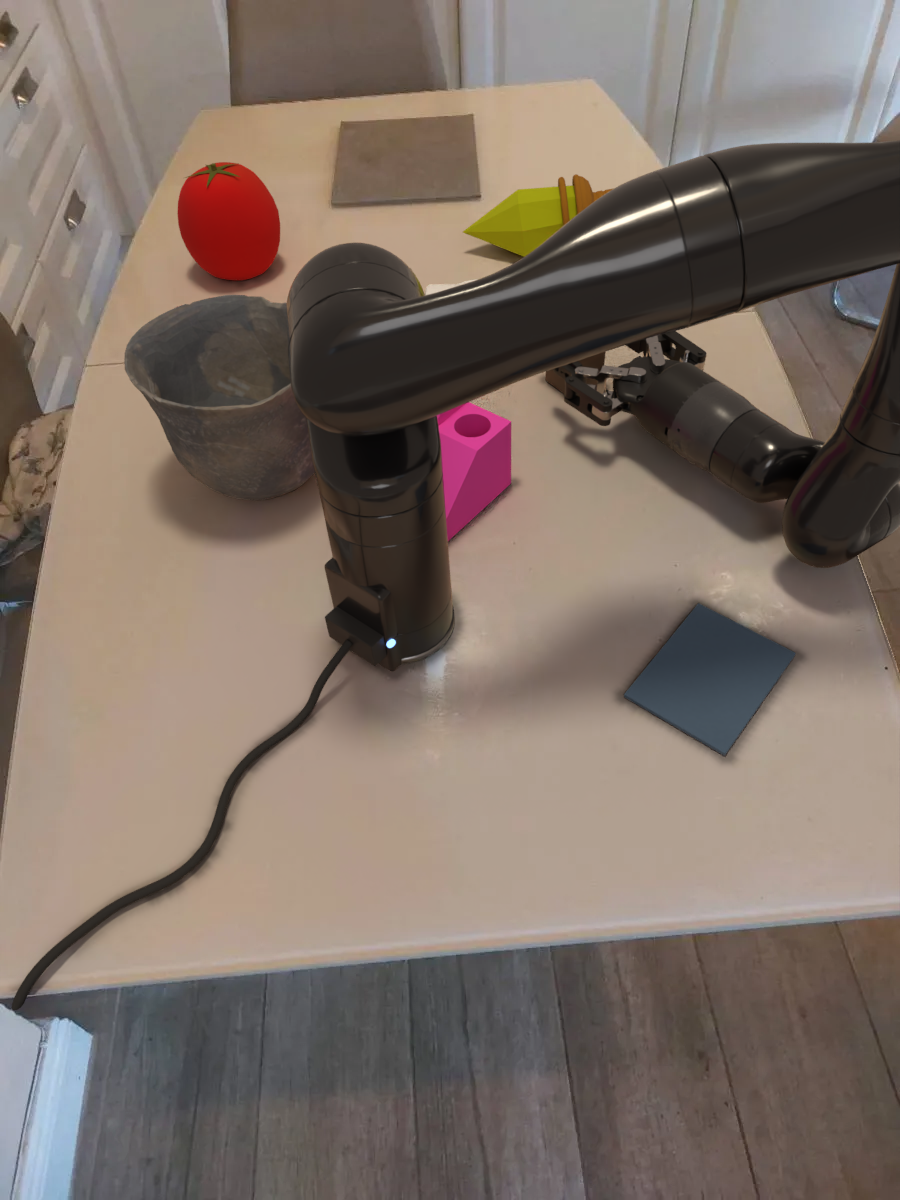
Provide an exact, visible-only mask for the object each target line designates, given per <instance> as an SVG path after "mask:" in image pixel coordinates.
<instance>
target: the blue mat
mask: <svg viewBox="0 0 900 1200" xmlns="http://www.w3.org/2000/svg"><path fill="white" fill-rule="evenodd" d="M796 655H797V653H796V652H795V651H793V650H792V649H789V648H787V647H785V646H783V645H781V644H779V643H777V642H776V641H773V640H772V639H769V638H768V637H766V636H764V635H762V634H760V633H758V632H756V631H754V630H753V629H750V628H749V627H747V626H744V625H742V624H741V623H739V622H736V621H734V620H733V619H730V618H729V617H727V616H726V615H723V614H721V613H719V612H717V611H715V610H713V609H712V608H709V607H707V606H705V605H703V604H702V603H699V602H698V603H697V604H696V605H695V607H694V608H693V609H692V610H691V611H690V613H689V614H688V615H687V616H686V617H685V618H684V620H683V621H682V622H681V624H680V625H679V626H678V627H677V628H676V629H675V631H674V632H673V633H672V635H671V636H670V637H669V639H668V640H667V641H666V642H665V643H664V644H663V645H662V647H661V648H660V649H659V651H657V653H656V655H655V656H654V657H653V658H652V659H651V661H650V662H648V664H647V665H646V667H645V668H644V669H643V670H642V672H640V674H639V675H638V676H637V677H636V679H635V680H634V682H633V683H632V684H631V685H630V686H629V688H628V689H627V690H626V691H625V693H624V694H623V698H625V699H626V700H628V701H630V702H631V703H632V704H633V703H634V704H635V705H637V706H639V707H640V708H642V709H643V710H645V711H646V712H649V713H650V714H652V715H654V716H656V717H657V718H659V719H661V720H662V721H664V722H666V723H667V724H669V725H671V726H672V727H674V728H676V729H678V730H679V731H681V732H682V733H685V734H686V735H688V736H689V737H691V738H693V739H694V740H696V741H698V742H699V743H701V744H703V745H705V746H706V747H708V748H710V749H712V750H713V751H715V752H717V753H719V754H720V755H722V756H723V757H725V756H726V755H727V753H728V752H729V751H730V749H731V748H732V746H733V745H734V744H735V742H736V741H737V739H738V738H739V737H740V736H741V733H742V732H743V731H744V729H745V728H746V726H747V725H748V723H749V722H750V721H751V719H752V718H753V716H754V715H755V714H756V712H757V710H759V708H760V707H761V705H762V704H763V702H764V701H765V699H766V698H767V697H768V695H769V693H770V692H771V691H772V689H773V688H774V687H775V685H776V684H777V682H778V681H779V679H780V678H781V676H782V675H783V674H784V672H785V671H786V670H787V668H788V667H789V665H790V664H791V662H792V661H793V660H794V658H795V656H796Z"/></svg>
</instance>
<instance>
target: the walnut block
mask: <svg viewBox="0 0 900 1200" xmlns="http://www.w3.org/2000/svg"><path fill="white" fill-rule="evenodd" d="M606 352H607V351H606ZM606 352H603V353H600V354H597V355H594V356H591V357H588V358H585V359H582V360H579V361H578V362H580V363H581V364H582V367H589V368H596V369H599V368H600V367H601V366H603V365H605V361H606ZM544 380H545V382H546V383H549V384H550V385H551V386H552V387H554V388H555V389H557V390H558V391H559V392H560V393H562V394H563V395H565V380H564V379H562V378H561V377H560V376H558V375H557V374H555V373H554V371H553V369H551V370H548V371H545V378H544ZM586 384H593V385H597V381H596V380H594V379H587V380H586ZM578 396H579V397H580V395H578Z"/></svg>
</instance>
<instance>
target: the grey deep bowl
mask: <svg viewBox="0 0 900 1200" xmlns="http://www.w3.org/2000/svg"><path fill="white" fill-rule="evenodd" d="M286 304H287V302H273V301H270V300H268V299H266V298H265V297H263V296H252V295H251V296H250V295H245V294H224V295H219V296H214V297H208V298H204V299H200V300H196V301H192V302H191V303H184V304H181V305H179V306H176V307H174V308H172V309H169V310H167V311H165V312H163V313H161V314H159V315H158V316H155V318H153V319H151V320H149V321H148V322H147V323H145V324H144V325H142V326H141V327H140V328H139V329H138V330H137V331H136V332H135V333H134V334H133V335H132V336H131V337H130V339H129V341H128V343H127V344H126V347H125V351H124V358H123V359H124V360H123V362H124V363H123V364H124V371H125V373H126V376H127V377H128V379H129V381H130V383H132V385H133V386H134V387H135V388H136V389H137V390H138V391H139V392H140V393H141V395H142V396H143V397H144V399H145V400H146V401H147V403H148V404H149V406H150V408H151V409H152V411H153V413H154V414H155V415H156V417H157V418H158V420H159V423H160V426H161V427H162V429H163V432H164V435H165V437H166V440H167V442H168V443H169V445H170V448H171V450H172V452H173V455H174V456H175V458H176V459H177V461H178V462H179V463H180V465H182V466H183V467H184V469H185V470H186V471H187V472H188V473H189V474H190V475H191V476H192V477H193V478H194V479H195V480H197V481H198V482H200V483H201V484H202V485H204V486H206V487H207V488H208V489H211V490H212V491H214V492H216V493H218V494H221V495H224V496H226V497H230V498H233V499H239V500H243V501H244V500H245V501H264V500H270V499H275V498H276V497H281V496H283V495H286V494H289V493H291V492H293V491H295V490H297V489H298V488H300V487H301V486H302V485H304V484H305V483H306V482H308V480H309V479H311V477H312V476H313V475H315V472H314V467H313V463H312V456H311V449H310V442H309V435H308V428H307V422H306V417H305V416H304V415H303V413H302V412H301V411H300V409H299V408H298V406H297V404H296V402H295V399H294V396H293V392H292V388H291V382H290V372H289V363H288V345H287V326H286Z"/></svg>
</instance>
